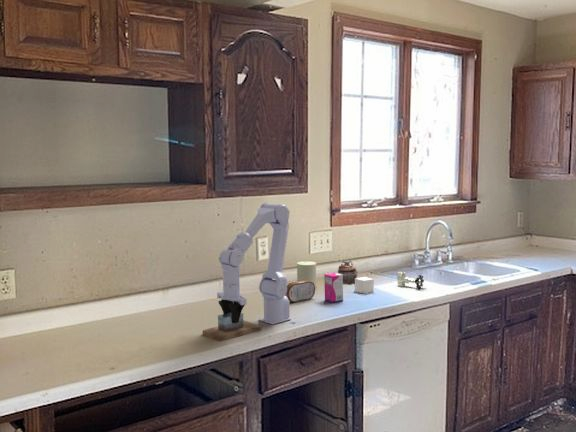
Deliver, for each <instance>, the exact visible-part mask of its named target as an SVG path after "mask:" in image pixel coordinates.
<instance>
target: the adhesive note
mask: <svg viewBox="0 0 576 432" xmlns="http://www.w3.org/2000/svg"><path fill="white" fill-rule="evenodd" d="M374 284H375V283H374V279H373V278H370V277H367V276H362V277H361V276H360V277H357V278H355V283H354V292H357V293H359V294H369V293H374V287H375V286H374Z"/></svg>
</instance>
